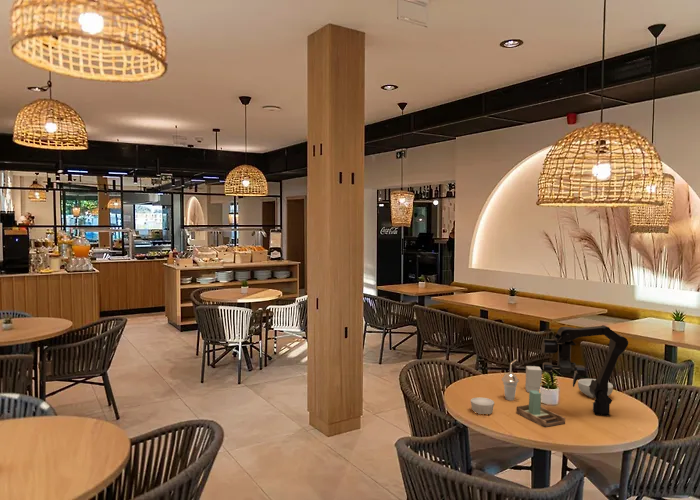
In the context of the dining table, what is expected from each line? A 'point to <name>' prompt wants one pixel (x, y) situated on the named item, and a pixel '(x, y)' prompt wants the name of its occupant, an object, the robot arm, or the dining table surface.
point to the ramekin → (482, 405)
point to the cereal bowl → (585, 384)
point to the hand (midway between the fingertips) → (563, 385)
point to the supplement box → (533, 378)
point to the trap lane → (541, 416)
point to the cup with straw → (510, 384)
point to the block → (534, 402)
